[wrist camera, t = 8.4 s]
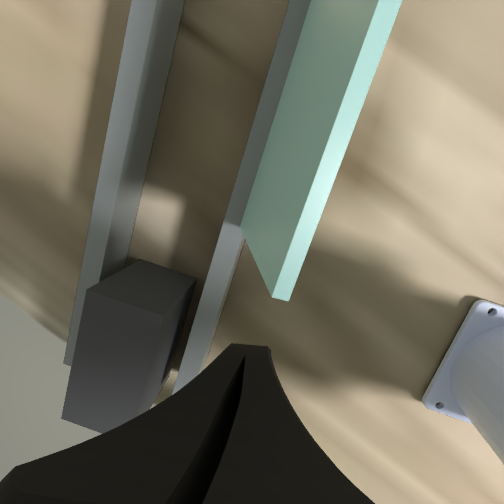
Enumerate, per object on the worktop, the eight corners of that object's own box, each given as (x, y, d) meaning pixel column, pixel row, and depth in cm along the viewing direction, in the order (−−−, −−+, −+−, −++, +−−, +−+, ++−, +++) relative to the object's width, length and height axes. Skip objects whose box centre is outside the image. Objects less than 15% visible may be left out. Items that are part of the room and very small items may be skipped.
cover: (322, -36, 13) (332, -31, 14) (239, 227, 16) (248, 230, 16) (490, -310, 5) (512, -292, 6) (271, 297, 8) (288, 301, 9)
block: (197, 278, 21) (163, 316, 15) (168, 376, 23) (129, 443, 17) (141, 259, 21) (86, 289, 15) (117, 358, 23) (61, 418, 17)
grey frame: (364, 10, 16) (408, -85, 11) (230, 388, 22) (211, 463, 17) (173, -50, 17) (112, -174, 11) (91, 340, 23) (23, 396, 17)
